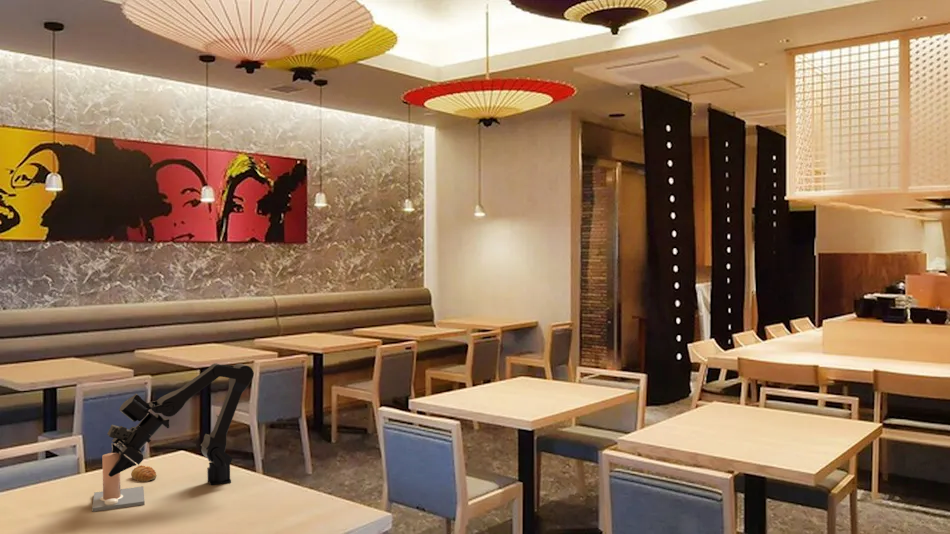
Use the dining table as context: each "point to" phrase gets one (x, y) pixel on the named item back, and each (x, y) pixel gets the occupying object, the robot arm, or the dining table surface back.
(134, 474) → the pastry
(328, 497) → the dining table surface
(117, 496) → the canister
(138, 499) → the board
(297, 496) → the dining table surface
